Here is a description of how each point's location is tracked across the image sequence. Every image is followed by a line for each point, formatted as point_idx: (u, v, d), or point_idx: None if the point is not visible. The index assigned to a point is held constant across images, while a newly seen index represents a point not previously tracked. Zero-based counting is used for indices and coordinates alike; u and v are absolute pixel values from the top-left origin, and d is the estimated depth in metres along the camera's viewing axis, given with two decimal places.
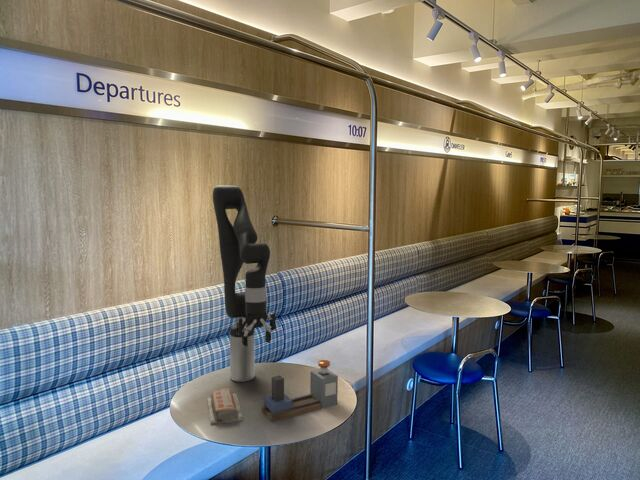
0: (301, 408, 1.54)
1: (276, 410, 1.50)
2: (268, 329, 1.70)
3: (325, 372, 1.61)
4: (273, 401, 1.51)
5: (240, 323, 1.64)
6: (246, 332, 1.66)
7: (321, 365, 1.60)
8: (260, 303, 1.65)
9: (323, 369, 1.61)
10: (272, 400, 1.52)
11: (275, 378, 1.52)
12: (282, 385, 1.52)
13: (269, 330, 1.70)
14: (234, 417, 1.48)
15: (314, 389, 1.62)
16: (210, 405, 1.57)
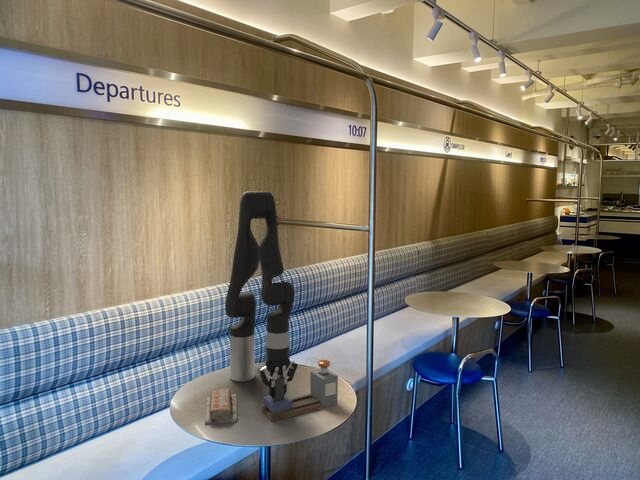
0: (301, 408, 1.54)
1: (276, 410, 1.50)
2: (285, 380, 1.53)
3: (325, 372, 1.61)
4: (273, 401, 1.52)
5: (263, 375, 1.48)
6: (273, 382, 1.51)
7: (321, 365, 1.60)
8: (283, 349, 1.48)
9: (323, 369, 1.61)
10: (273, 400, 1.52)
11: None
12: (282, 385, 1.52)
13: (285, 382, 1.53)
14: (228, 417, 1.48)
15: (314, 389, 1.62)
16: (208, 404, 1.58)
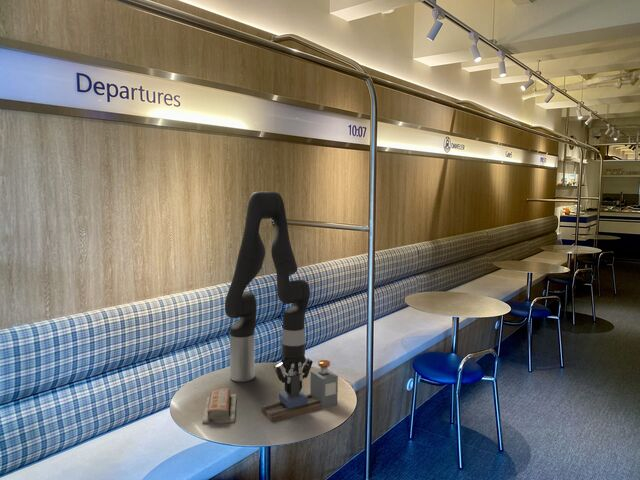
0: (301, 408, 1.54)
1: (292, 406, 1.52)
2: (300, 377, 1.56)
3: (325, 372, 1.61)
4: (289, 397, 1.54)
5: (279, 372, 1.51)
6: (288, 379, 1.53)
7: (321, 365, 1.60)
8: (299, 346, 1.51)
9: (323, 369, 1.61)
10: (288, 396, 1.55)
11: None
12: (298, 381, 1.55)
13: (300, 378, 1.56)
14: (226, 418, 1.48)
15: (314, 389, 1.62)
16: (207, 404, 1.58)
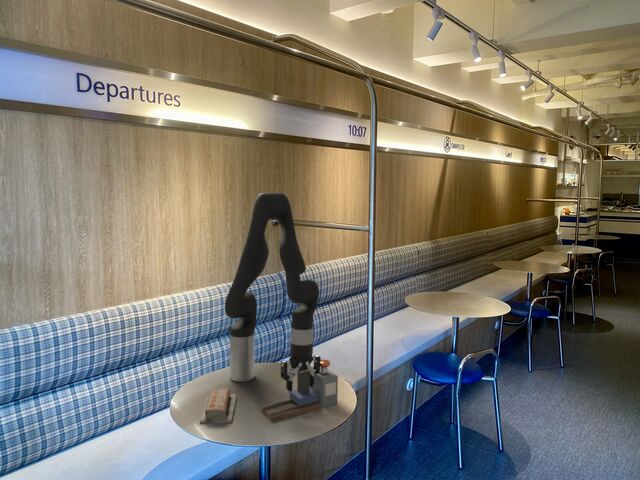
0: (301, 408, 1.54)
1: (302, 403, 1.54)
2: (312, 373, 1.58)
3: (325, 372, 1.61)
4: (299, 395, 1.56)
5: (285, 367, 1.52)
6: (291, 376, 1.54)
7: (321, 365, 1.60)
8: (307, 346, 1.53)
9: (323, 369, 1.60)
10: (298, 393, 1.57)
11: (301, 372, 1.57)
12: (308, 379, 1.57)
13: (313, 374, 1.58)
14: (223, 418, 1.48)
15: (314, 389, 1.62)
16: (207, 404, 1.58)
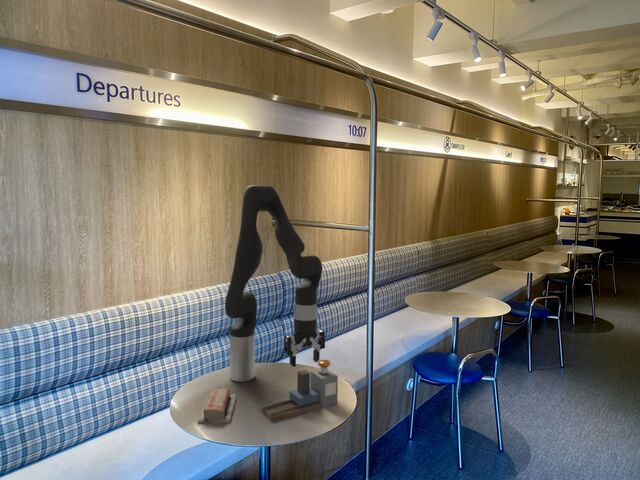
0: (301, 408, 1.54)
1: (302, 403, 1.54)
2: (317, 348, 1.58)
3: (325, 372, 1.61)
4: (299, 395, 1.56)
5: (289, 342, 1.52)
6: (295, 352, 1.54)
7: (321, 365, 1.60)
8: (311, 321, 1.53)
9: (323, 369, 1.61)
10: (298, 393, 1.57)
11: (301, 372, 1.57)
12: (308, 379, 1.57)
13: (318, 349, 1.58)
14: (221, 418, 1.47)
15: (314, 389, 1.62)
16: None
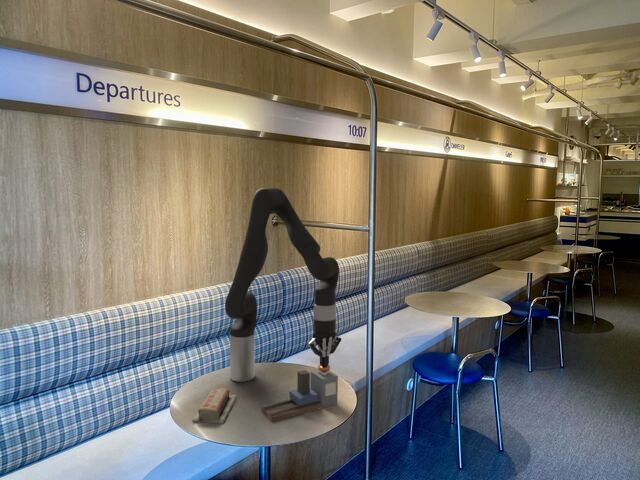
0: (301, 408, 1.54)
1: (302, 403, 1.54)
2: (328, 352, 1.60)
3: None
4: (299, 395, 1.56)
5: (313, 347, 1.57)
6: (323, 353, 1.59)
7: (321, 369, 1.60)
8: (330, 321, 1.57)
9: (323, 373, 1.61)
10: (298, 393, 1.57)
11: (301, 372, 1.57)
12: (308, 379, 1.57)
13: (327, 354, 1.60)
14: (215, 418, 1.47)
15: (314, 389, 1.62)
16: None
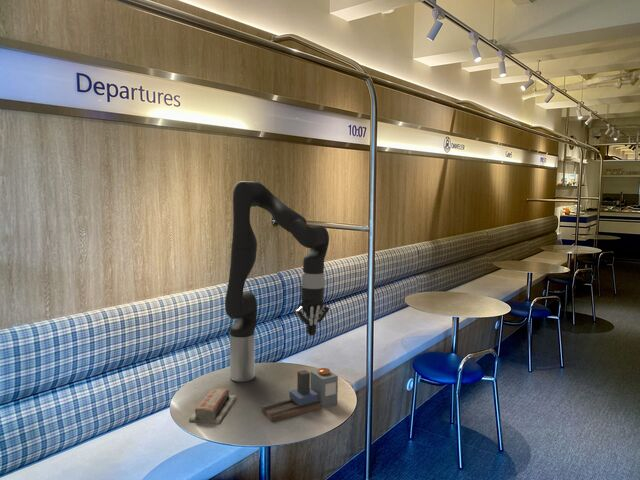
0: (301, 408, 1.54)
1: (302, 403, 1.54)
2: (315, 320, 1.61)
3: None
4: (299, 395, 1.56)
5: (300, 315, 1.57)
6: (310, 321, 1.60)
7: (321, 373, 1.60)
8: (318, 290, 1.57)
9: None
10: (298, 393, 1.57)
11: (301, 372, 1.57)
12: (308, 379, 1.57)
13: (315, 322, 1.61)
14: (211, 418, 1.47)
15: (314, 389, 1.62)
16: None
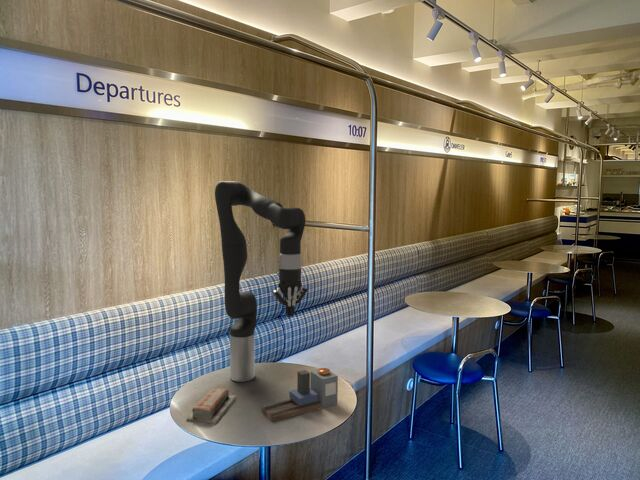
0: (301, 408, 1.54)
1: (302, 403, 1.54)
2: (293, 301, 1.62)
3: None
4: (299, 395, 1.56)
5: (278, 296, 1.59)
6: (289, 302, 1.61)
7: (321, 373, 1.60)
8: (295, 270, 1.58)
9: None
10: (298, 393, 1.57)
11: (301, 372, 1.57)
12: (308, 379, 1.57)
13: (293, 303, 1.62)
14: (208, 418, 1.47)
15: (314, 389, 1.62)
16: None
